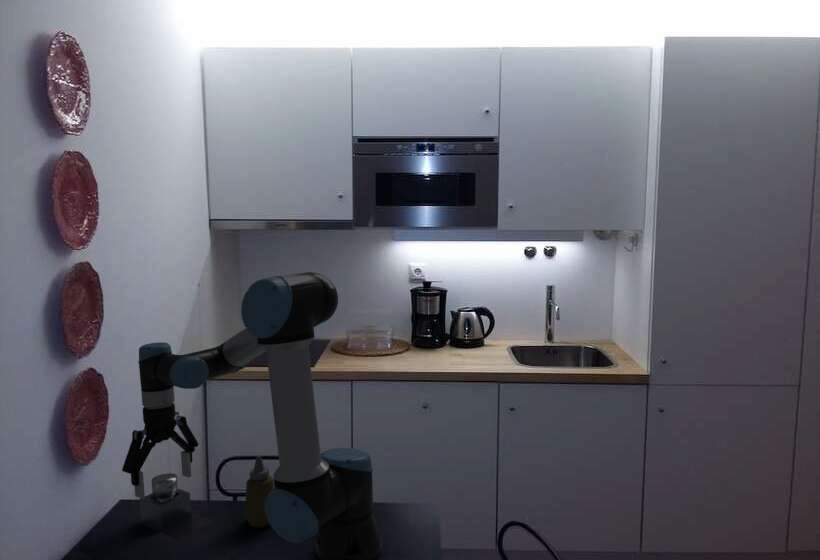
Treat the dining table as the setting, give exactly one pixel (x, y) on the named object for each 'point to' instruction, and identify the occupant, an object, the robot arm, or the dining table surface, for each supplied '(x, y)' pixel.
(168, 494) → the dark grey round knob
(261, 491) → the squeeze bottle
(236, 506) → the dining table surface
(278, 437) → the robot arm
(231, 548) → the dining table surface
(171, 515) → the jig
